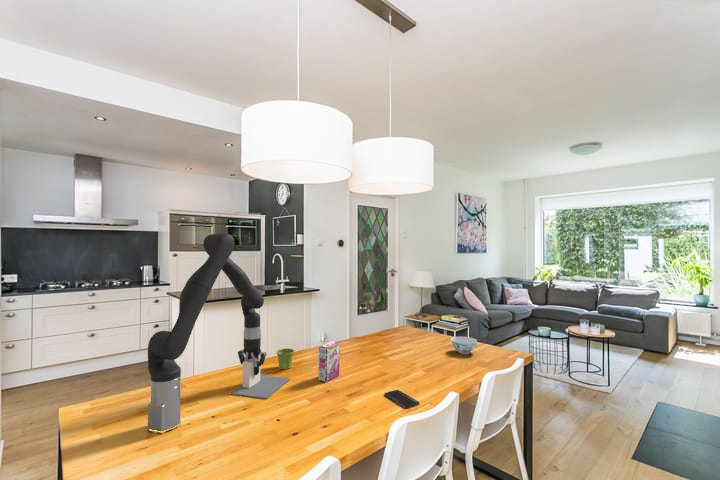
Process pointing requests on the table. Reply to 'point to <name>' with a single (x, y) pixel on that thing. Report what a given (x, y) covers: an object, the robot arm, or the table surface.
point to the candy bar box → (329, 361)
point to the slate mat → (262, 387)
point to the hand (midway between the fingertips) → (251, 373)
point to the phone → (401, 399)
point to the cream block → (249, 374)
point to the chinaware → (464, 344)
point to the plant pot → (285, 358)
